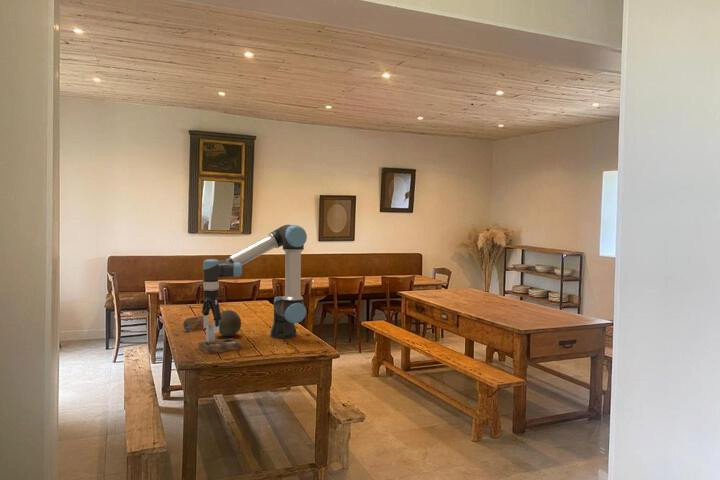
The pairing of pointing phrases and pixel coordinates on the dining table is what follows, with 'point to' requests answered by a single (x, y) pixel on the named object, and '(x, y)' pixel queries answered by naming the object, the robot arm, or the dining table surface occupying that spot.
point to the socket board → (220, 346)
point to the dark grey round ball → (229, 323)
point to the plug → (210, 334)
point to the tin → (194, 323)
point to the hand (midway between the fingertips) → (211, 330)
